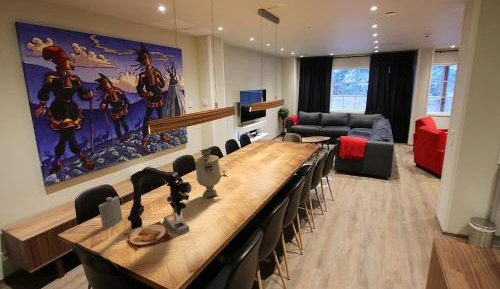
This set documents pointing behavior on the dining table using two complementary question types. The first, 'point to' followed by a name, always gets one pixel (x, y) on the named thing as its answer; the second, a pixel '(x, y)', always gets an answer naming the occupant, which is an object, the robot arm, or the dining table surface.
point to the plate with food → (148, 235)
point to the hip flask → (110, 212)
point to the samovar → (208, 172)
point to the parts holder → (176, 225)
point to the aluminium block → (176, 217)
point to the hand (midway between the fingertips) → (177, 214)
